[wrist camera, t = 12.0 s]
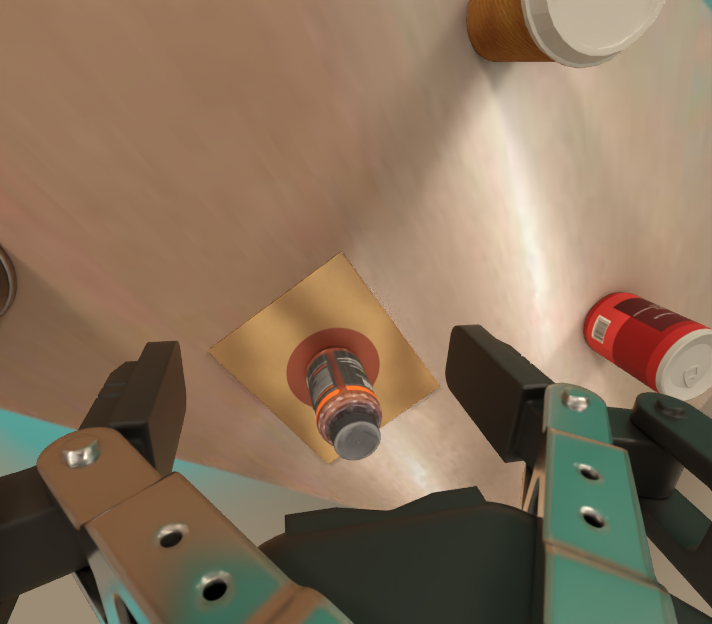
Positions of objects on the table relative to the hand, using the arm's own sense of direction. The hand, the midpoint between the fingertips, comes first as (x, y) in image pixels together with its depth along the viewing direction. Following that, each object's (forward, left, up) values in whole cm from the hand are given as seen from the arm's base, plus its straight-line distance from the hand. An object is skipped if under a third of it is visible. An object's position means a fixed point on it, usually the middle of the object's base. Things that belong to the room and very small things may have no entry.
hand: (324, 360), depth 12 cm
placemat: (-6, -17, -27) cm, 32 cm away
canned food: (+23, -34, -27) cm, 49 cm away
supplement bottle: (-6, -17, -27) cm, 32 cm away
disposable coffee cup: (+24, +1, -27) cm, 36 cm away
